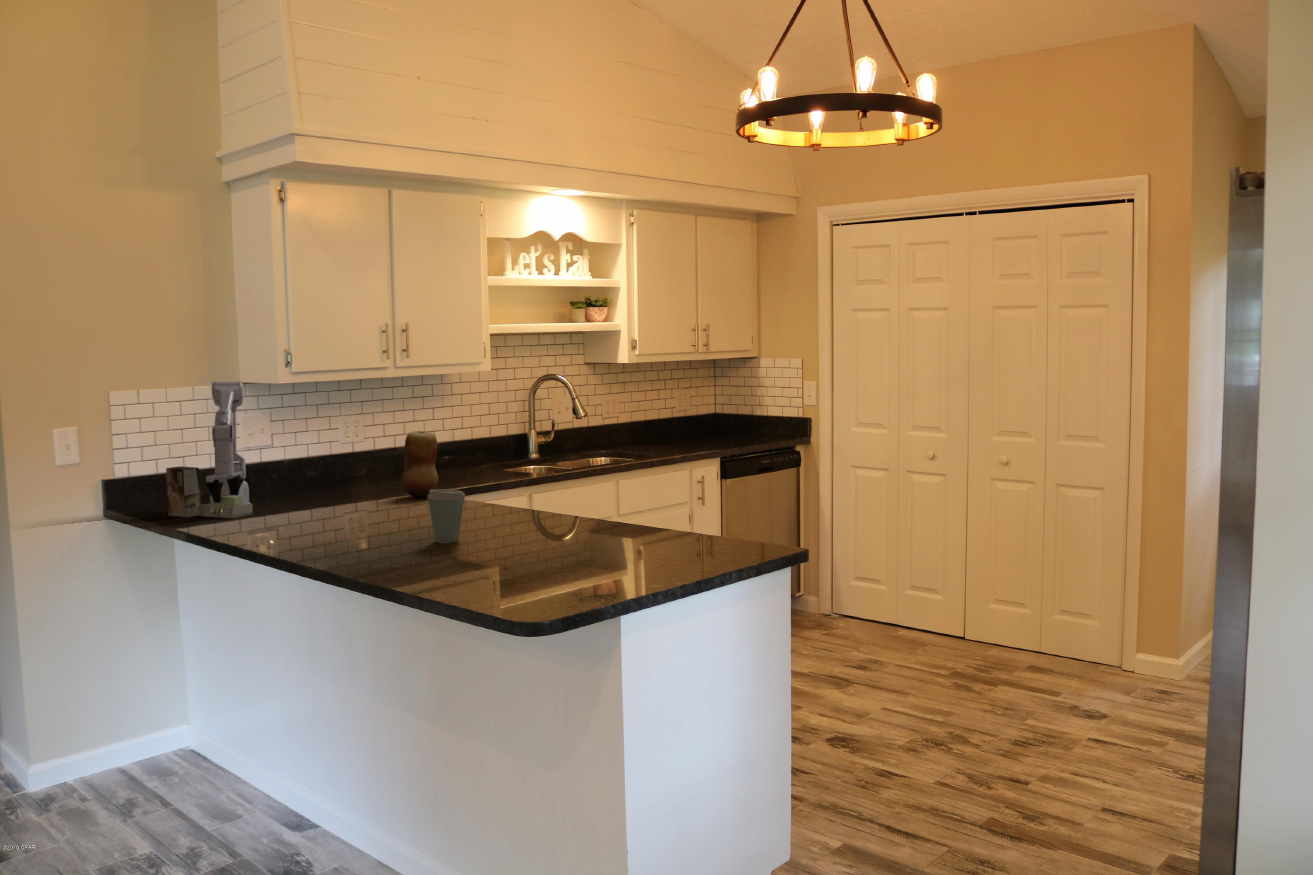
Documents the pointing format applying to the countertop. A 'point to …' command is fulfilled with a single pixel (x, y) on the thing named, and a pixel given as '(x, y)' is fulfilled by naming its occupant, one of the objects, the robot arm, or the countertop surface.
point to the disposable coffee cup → (446, 514)
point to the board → (227, 502)
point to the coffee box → (183, 491)
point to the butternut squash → (420, 464)
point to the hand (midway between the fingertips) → (225, 501)
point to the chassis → (225, 511)
